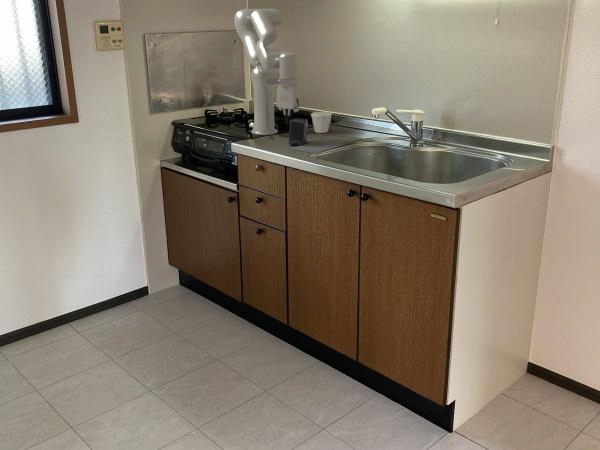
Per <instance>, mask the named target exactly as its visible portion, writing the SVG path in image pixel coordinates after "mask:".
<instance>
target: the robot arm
mask: <svg viewBox="0 0 600 450" xmlns="http://www.w3.org/2000/svg"><path fill="white" fill-rule="evenodd" d="M282 24H283V15H282V13H281V11H280V10H279V9H277V8H244V9H240V10H237V12H236V13H235V15H234V26H235V27H234V28H235V30H236V33H237V35H238V36H239V38H240V40H241V42H242V44H243V47H244V49H245V53H246V55H247V59H248V61H249V64H250V65H251V66H252V67H254V68H253V69H252V70H251V73H250V78H251V83H252V89H253V90H252V91H253V114H254V117H253V119H254V120H253V121H254V122H250V123H249V125H248V126H249V128H252V129H251V130H250V131H251V134H253V135H258V136H269V135H270V136H271V135H275V134H278V129H275V104H276V108H277V109H278V110H279V111H281V112H282V113H283V116H284V125H289V126H290V121H291V120H292V119H293V116H294V114H295V113H297V112H299V111H300V110H299V108H300V103H301V102H300V92H299V91H300V90H299V86H298V82H297V81H298V74H297V73H298V72H297V71H298V69H297V68H298V65H297V63H298V57H297V54H296V53H294V52H289V51H281V50H280V49H279V47H277V46H274V45H271V44H273V43H274V42H276V40H277V39H278V35H279V33H278V31H277V29H276V28H279V27H281V26H282ZM252 28H254V29H255V30H254V29H252ZM276 86H277V91H276V100H275V98H274V97H275V95H274V93H273V91H272V89H270V87H276ZM275 101H276V102H275Z"/></svg>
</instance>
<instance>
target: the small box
mask: <svg viewBox="0 0 600 450" xmlns="http://www.w3.org/2000/svg"><path fill="white" fill-rule="evenodd" d="M308 121H309V119H307V118H300V117H295V118H292V120H291V121H290V124H289V134H288V135H289V136H288V145H295V146H301V145H305V143H307V139H308V138H307V137H308V124H309V123H308Z"/></svg>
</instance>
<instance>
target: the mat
mask: <svg viewBox="0 0 600 450" xmlns="http://www.w3.org/2000/svg"><path fill="white" fill-rule="evenodd" d="M345 145H346V144H345V143H341V142H333V141H327V140H316V141H312V142H308V143H306V144H305V143H304V144H303V145H297V146H295V147H292V148H291V147H290V151H291V150H292V151H297V152H304V153H309V154H315V155H317V154H320V153H322V152H326V151H330V150H334V149H336V148H339V147H343V146H345Z"/></svg>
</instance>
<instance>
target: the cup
mask: <svg viewBox="0 0 600 450" xmlns="http://www.w3.org/2000/svg"><path fill="white" fill-rule="evenodd" d="M332 116H333V113H332V112H328V111H314V112H311V113H310V117H311V119H312V125H313V129H314V133H316V134H327V133H328V132H329V127H330V124H331V119H332Z"/></svg>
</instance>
